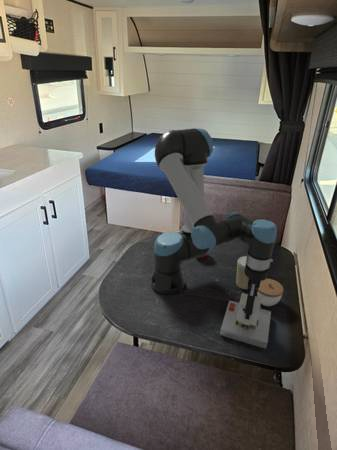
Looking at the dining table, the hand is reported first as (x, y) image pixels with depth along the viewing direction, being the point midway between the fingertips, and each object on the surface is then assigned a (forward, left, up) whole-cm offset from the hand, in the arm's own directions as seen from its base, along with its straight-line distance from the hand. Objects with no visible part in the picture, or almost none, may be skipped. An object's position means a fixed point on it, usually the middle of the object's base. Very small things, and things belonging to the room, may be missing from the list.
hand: (247, 317), depth 109 cm
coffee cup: (-4, +25, -5) cm, 26 cm away
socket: (0, 0, -4) cm, 4 cm away
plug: (0, 0, -3) cm, 3 cm away
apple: (-28, +39, -5) cm, 48 cm away
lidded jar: (+6, +17, -5) cm, 19 cm away
